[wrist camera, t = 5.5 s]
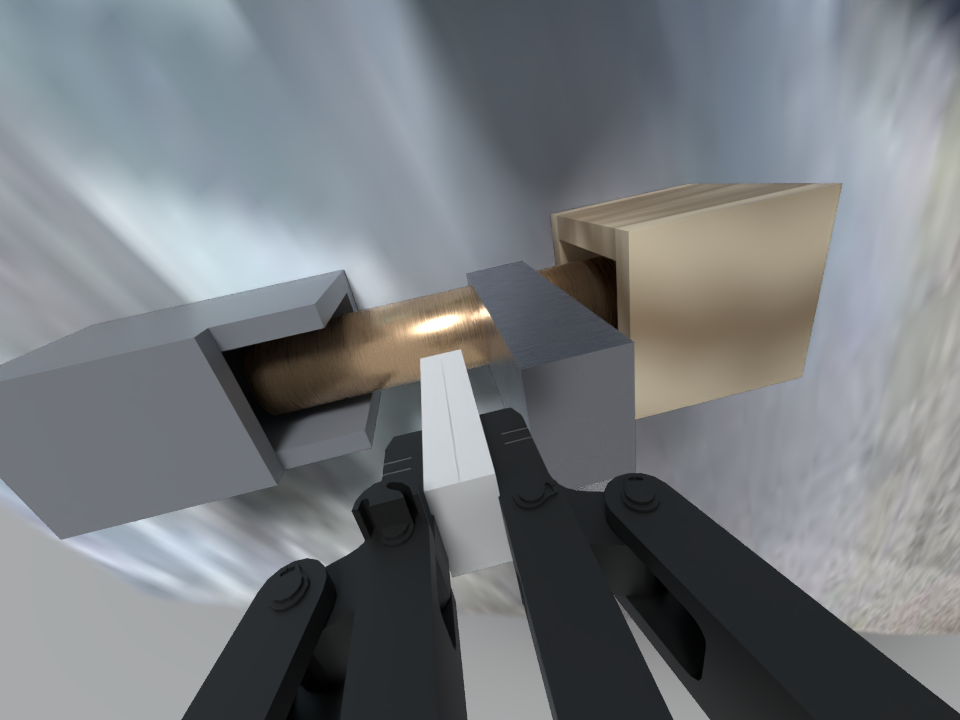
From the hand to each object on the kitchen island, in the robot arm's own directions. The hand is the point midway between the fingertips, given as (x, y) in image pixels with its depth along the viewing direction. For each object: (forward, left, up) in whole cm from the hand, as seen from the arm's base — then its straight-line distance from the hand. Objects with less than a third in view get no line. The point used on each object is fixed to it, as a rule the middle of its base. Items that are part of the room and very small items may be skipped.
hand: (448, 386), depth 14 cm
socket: (0, +11, -9) cm, 14 cm away
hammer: (0, 0, -7) cm, 7 cm away
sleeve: (0, -10, -9) cm, 14 cm away
